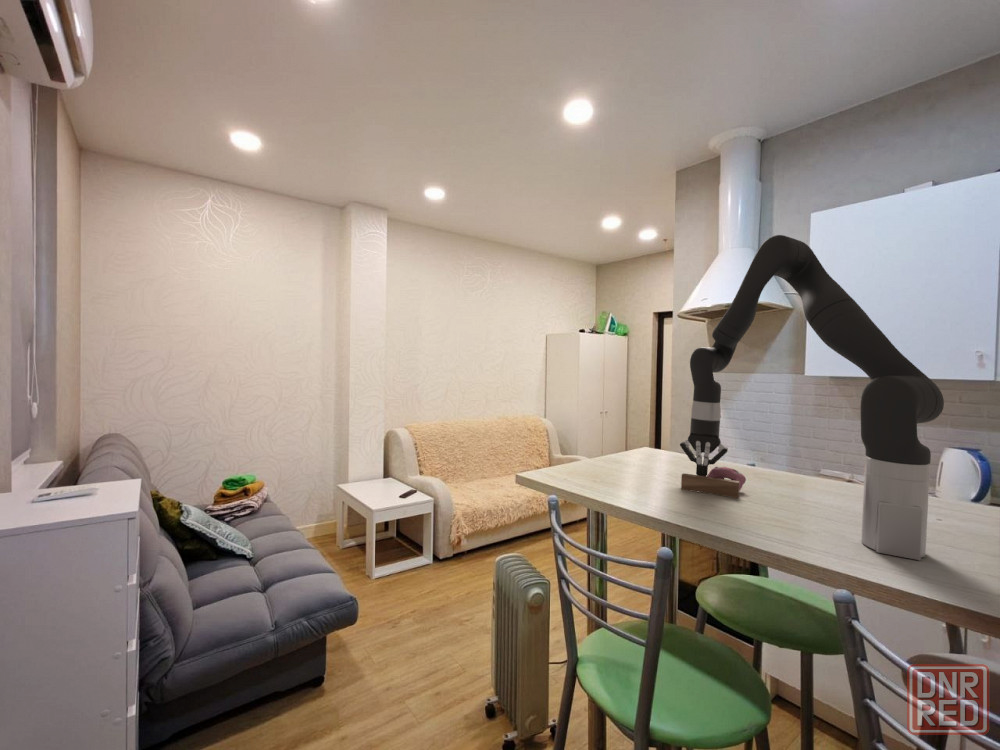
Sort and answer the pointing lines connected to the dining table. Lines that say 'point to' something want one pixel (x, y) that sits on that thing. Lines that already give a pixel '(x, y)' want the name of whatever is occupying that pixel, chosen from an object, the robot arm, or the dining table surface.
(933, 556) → the dining table surface
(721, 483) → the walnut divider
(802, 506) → the dining table surface
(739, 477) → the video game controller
